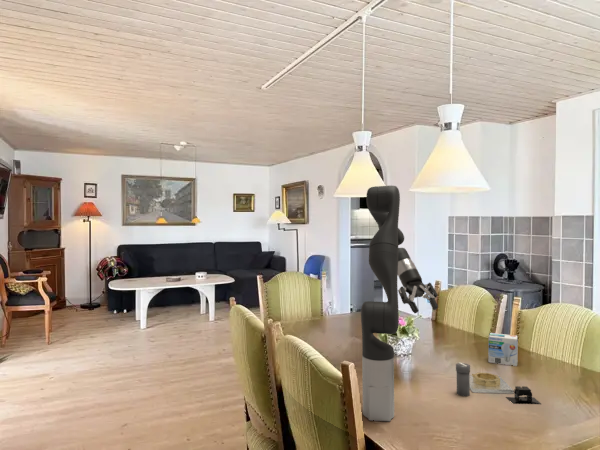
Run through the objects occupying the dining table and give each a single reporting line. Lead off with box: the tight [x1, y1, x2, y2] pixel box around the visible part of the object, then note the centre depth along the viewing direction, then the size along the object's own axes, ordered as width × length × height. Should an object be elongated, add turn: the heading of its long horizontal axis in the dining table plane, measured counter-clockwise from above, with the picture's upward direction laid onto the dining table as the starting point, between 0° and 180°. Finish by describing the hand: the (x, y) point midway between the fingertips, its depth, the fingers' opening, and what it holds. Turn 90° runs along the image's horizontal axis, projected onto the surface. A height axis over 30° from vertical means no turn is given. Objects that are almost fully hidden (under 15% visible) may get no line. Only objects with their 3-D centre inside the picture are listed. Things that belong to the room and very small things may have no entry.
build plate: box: [505, 385, 542, 405], centre depth 136 cm, size 12×7×5 cm, turn 86°
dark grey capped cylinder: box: [455, 362, 471, 397], centre depth 142 cm, size 4×4×10 cm
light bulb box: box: [487, 332, 519, 367], centre depth 174 cm, size 11×7×11 cm, turn 62°
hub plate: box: [469, 371, 514, 395], centre depth 148 cm, size 13×13×4 cm
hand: (426, 310), depth 156 cm, fingers open, 8 cm apart
